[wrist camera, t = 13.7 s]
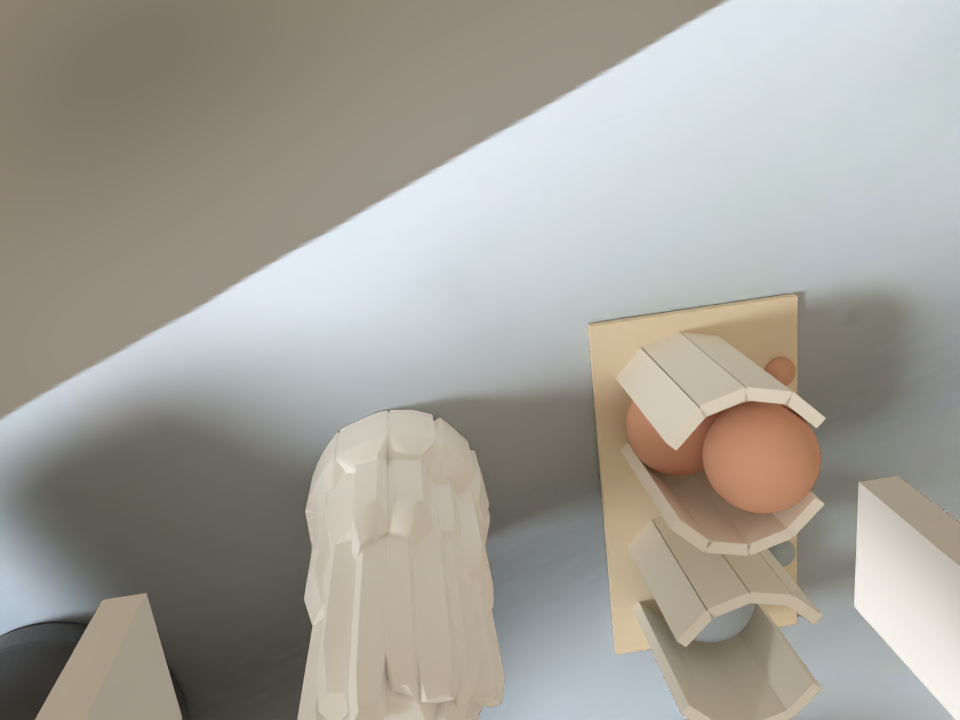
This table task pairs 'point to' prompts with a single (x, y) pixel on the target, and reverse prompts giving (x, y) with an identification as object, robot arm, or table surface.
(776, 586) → the tube rack
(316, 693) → the decorative vase
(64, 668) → the robot arm
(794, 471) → the ball terracotta loose
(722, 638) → the ball slate in tube
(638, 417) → the ball terracotta in tube
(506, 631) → the table surface
